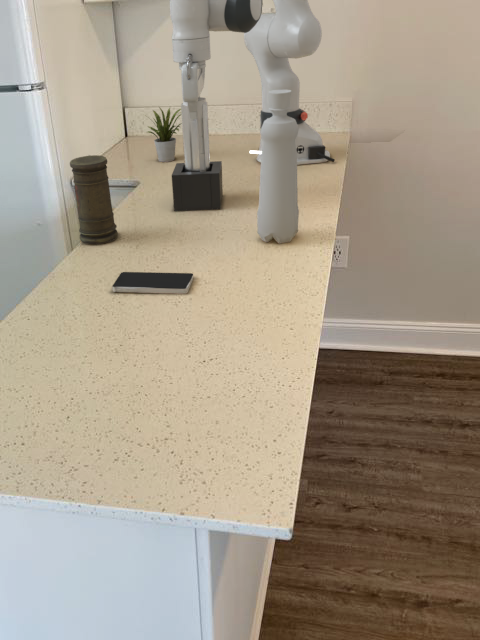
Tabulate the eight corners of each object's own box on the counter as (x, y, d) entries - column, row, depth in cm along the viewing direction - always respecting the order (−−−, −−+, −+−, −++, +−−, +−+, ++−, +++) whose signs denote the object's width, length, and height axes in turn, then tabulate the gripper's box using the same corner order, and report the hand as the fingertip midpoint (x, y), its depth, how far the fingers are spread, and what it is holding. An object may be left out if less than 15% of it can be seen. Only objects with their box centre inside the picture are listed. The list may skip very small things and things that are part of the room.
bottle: (302, 233, 153) (308, 87, 136) (291, 247, 146) (295, 95, 129) (264, 230, 156) (265, 87, 139) (251, 243, 150) (250, 95, 133)
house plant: (200, 156, 220) (197, 101, 211) (177, 166, 211) (174, 110, 202) (164, 153, 227) (160, 100, 218) (140, 163, 218) (135, 108, 208)
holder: (222, 195, 182) (221, 161, 176) (220, 209, 172) (219, 173, 167) (178, 197, 183) (176, 163, 178) (174, 211, 173) (171, 175, 168)
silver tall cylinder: (212, 198, 180) (207, 95, 165) (210, 205, 174) (206, 100, 160) (188, 199, 180) (181, 97, 166) (186, 206, 175) (179, 102, 161)
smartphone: (186, 289, 129) (111, 287, 132) (186, 294, 130) (112, 292, 132) (193, 272, 135) (121, 271, 138) (193, 278, 136) (122, 276, 139)
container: (123, 232, 162) (114, 154, 152) (108, 246, 155) (98, 164, 145) (90, 231, 165) (79, 154, 154) (73, 244, 158) (61, 164, 148)
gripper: (201, 56, 149) (204, 123, 157) (207, 46, 165) (210, 107, 173) (173, 58, 149) (177, 125, 157) (182, 47, 166) (185, 108, 174)
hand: (194, 115), depth 165 cm, fingers closed on silver tall cylinder, 6 cm apart
